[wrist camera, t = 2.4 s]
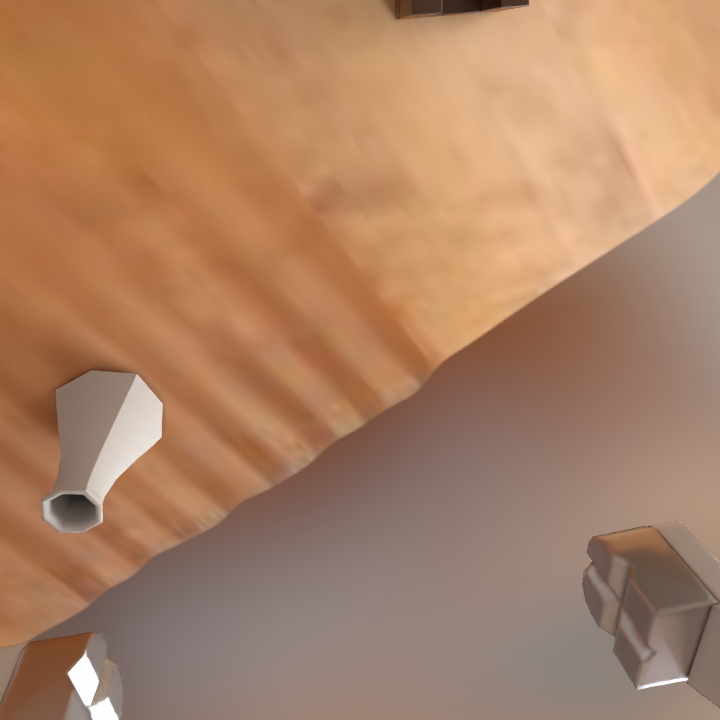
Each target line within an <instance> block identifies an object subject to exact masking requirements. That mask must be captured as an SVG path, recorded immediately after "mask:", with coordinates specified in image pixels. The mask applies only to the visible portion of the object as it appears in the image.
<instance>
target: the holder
mask: <svg viewBox="0 0 720 720" xmlns="http://www.w3.org/2000/svg"><path fill="white" fill-rule="evenodd" d="M525 6H529V0H395V17H396V20H398V19H410V18H422V17H434V16H446V15H458V14H470V13H482V12H494V11H503V10H508V9H514V8H520V7H525Z"/></svg>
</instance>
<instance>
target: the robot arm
mask: <svg viewBox="0 0 720 720" xmlns="http://www.w3.org/2000/svg"><path fill="white" fill-rule="evenodd" d="M587 553H588V555H589V557H590V558H591V560H592V562H591V563H590V565H589V566H588V567H587V568H586V569H585V570H584V575H583V583H582V585H583V590H584V595H585V600H586V603H587V605H588V608H589V610H590V612H591V614H592V616H593V618H594V620H595V621H596V623H597V625H598V627H600V628H601V629H603V630H605V631H606V632H608V633H609V634H611V635H612V636H614V637H615V638H614V648H613V652H614V653H615V655H616V656H617V658H618V660H619V662H620V663H621V665H622V666H623V668H624V670H625V671H626V673H627V675H628V676H629V678H630V680H631V681H632V683H633V685H634V686H635V688H636V689H641V688H646V687H652V686H657V685H662V684H668V683H673V682H678V681H684V680H687V684H688V685H690V686H691V687H692V688H694V689H695V690H696V691H697V692H699V693H700V694H702V695H703V696H704V697H706V698H707V699H708V700H709V701H711V702H712V703H713V704H715V705H716V706H717V707H719V708H720V562H719V561H718V560H717V559H716V558H715V557H714V556H713V555H712V554H711V553H710V552H709V550H708V549H707V548H706V547H705V546H704V545H703V544H702V543H701V542H700V541H699V540H698V539H697V538H696V536H695V535H694V534H693V533H692V532H691V531H690V530H689V529H688V528H687V527H686V526H685V525H684V524H682V523H680V522H679V521H672V522H667V523H662V524H657V525H651V526H647V527H646V526H642V527H637V528H633V529H628V530H623V531H618V532H613V533H608V534H603V535H599V536H594V537H592V539H591V540H590V541H589V544H588V549H587ZM107 645H108V643H107V641H106V639H105V637H104V636H103V634H102V632H101V631H95V632H88V633H82V634H77V635H70V636H64V637H57V638H52V639H46V640H39V641H33V642H27V643H21V644H16V645H10V646H4V647H0V720H120V718H121V712H122V707H123V681H122V676H121V672H120V669H119V667H118V664H117V662H116V661H114V660H112V659H110V658H108V657H106V656H105V654H106V650H107Z"/></svg>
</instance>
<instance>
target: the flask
mask: <svg viewBox="0 0 720 720" xmlns="http://www.w3.org/2000/svg"><path fill="white" fill-rule="evenodd" d="M56 406H57V421H58V434H59V442H60V450H61V458H60V464H59V470H58V476H57V480H56V482H55V484H54V486H53V489H52V491H51V492H49V493H47V494H45V495H44V496H43V497H42V498H41V500H40V502H41V513H42V519H43V520H44V521H46V522H47V523H48V524H49V525H50V526H51V527H53V528H54V529H55V530H56V531H57V532H74V533H83V532H85V531H87V530H89V529H91V528H92V527H94V526H96V525H98V524H100V523H102V520H103V513H102V503H103V500H104V497H105V495H106V494H107V492H108V491H109V489H110V488H111V486H112V485H113V483H114V482H115V480H116V479H117V478H118V477H119V476H120V475H121V474H122V473H123V472H124V471H125V470H126V469H127V468H128V467H129V466H130V465H131V464H132V463H133V462H134V461H136V460H137V459H138V458H139V457H140V456H141V455H142V454H143V453H145V452H146V451H147V450H148V449H149V448H150V447H152V446H153V445H154V444H155V443H156V442H157V441H158V440H159V439H160V438H161V437H162V408H163V404H162V403H161V401H160V400H159V399H158V398H157V397H156V396H155V394H154V393H153V392H152V391H151V390H150V389H149V387H148V386H147V385H146V384H145V383H144V381H143V380H142V379H141V378H140V377H139V376H138V374H134V373H120V372H107V371H94V370H91V371H89V372H87V373H86V374H84V375H82V376H80V377H78V378H76V379H74V380H73V381H71V382H69V383H67V384H65V385H63V386H61V387H60V388H58V389H56Z"/></svg>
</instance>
